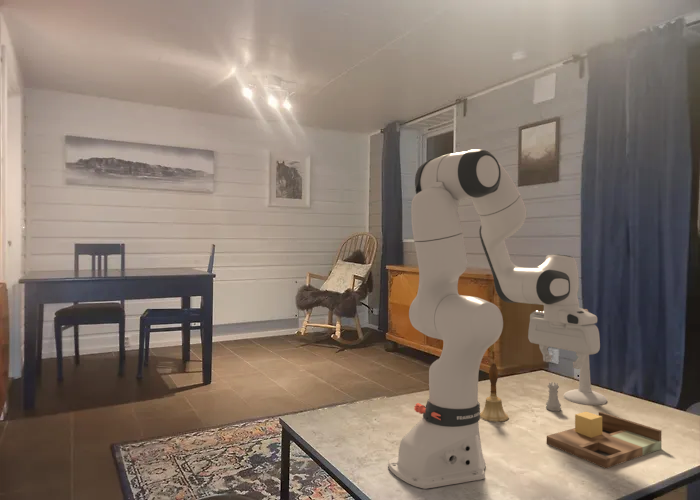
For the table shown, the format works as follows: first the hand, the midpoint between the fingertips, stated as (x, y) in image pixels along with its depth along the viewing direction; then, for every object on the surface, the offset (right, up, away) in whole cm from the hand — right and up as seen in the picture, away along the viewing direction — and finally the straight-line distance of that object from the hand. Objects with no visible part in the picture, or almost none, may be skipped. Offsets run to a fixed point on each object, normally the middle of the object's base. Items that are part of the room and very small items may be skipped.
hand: (562, 364), depth 132 cm
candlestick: (+20, -18, +28) cm, 39 cm away
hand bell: (-15, -18, +11) cm, 26 cm away
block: (+4, -16, -7) cm, 18 cm away
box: (+6, -18, -11) cm, 22 cm away
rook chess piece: (+5, -18, +18) cm, 26 cm away
